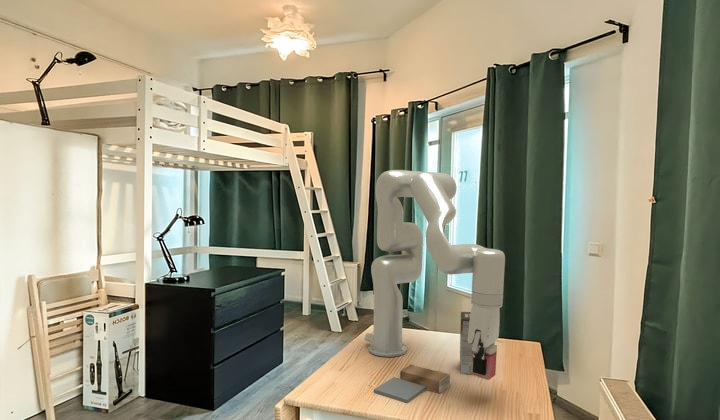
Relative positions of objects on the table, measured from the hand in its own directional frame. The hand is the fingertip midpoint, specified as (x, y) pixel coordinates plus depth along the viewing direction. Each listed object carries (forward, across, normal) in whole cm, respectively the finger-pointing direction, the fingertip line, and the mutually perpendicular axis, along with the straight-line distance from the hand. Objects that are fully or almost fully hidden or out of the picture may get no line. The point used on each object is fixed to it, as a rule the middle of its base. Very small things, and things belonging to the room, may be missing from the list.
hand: (483, 369), depth 110 cm
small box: (+2, 0, 0) cm, 2 cm away
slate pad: (+8, +8, -19) cm, 22 cm away
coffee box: (+8, -18, -10) cm, 22 cm away
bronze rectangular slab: (+8, 0, -16) cm, 18 cm away
